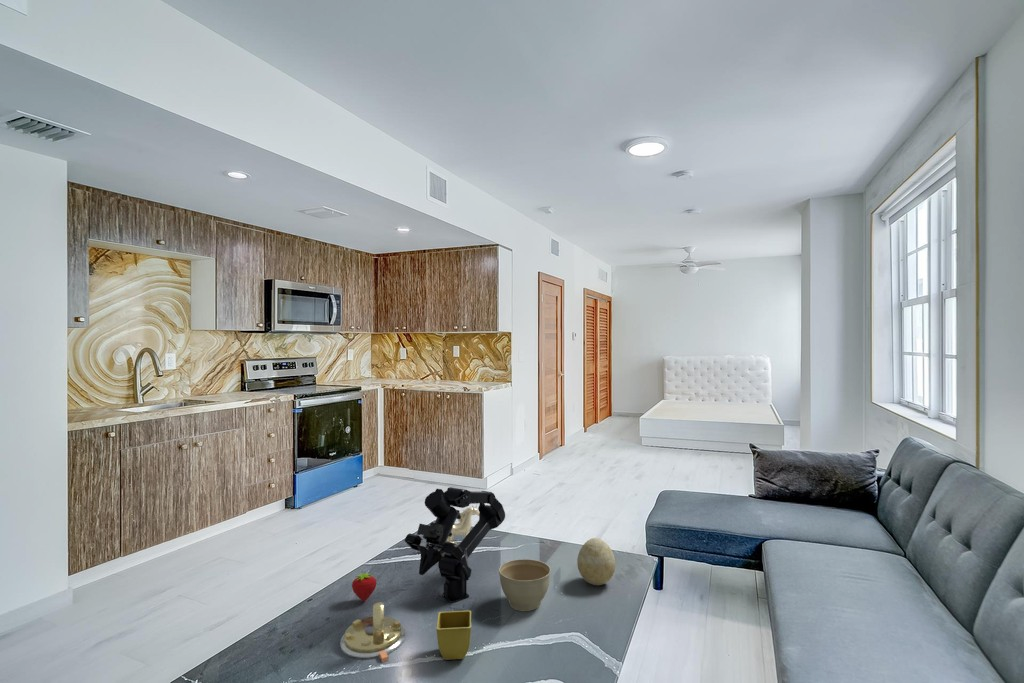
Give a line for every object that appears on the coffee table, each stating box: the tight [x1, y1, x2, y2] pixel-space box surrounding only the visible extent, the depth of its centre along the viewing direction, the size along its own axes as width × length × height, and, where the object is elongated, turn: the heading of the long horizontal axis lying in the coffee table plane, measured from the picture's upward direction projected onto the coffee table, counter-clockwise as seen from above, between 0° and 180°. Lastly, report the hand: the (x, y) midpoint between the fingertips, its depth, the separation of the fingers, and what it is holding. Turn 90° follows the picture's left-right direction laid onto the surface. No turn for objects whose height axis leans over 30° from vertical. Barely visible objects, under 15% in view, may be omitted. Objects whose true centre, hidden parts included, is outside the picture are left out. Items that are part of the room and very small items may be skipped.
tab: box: [378, 651, 389, 663], centre depth 129 cm, size 3×2×1 cm, turn 31°
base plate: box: [339, 623, 406, 660], centre depth 138 cm, size 17×17×4 cm
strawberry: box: [351, 571, 378, 602], centre depth 159 cm, size 6×8×10 cm
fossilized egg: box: [576, 537, 616, 586], centre depth 171 cm, size 13×13×15 cm
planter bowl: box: [498, 558, 552, 612], centre depth 157 cm, size 16×16×11 cm
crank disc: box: [343, 601, 402, 653], centre depth 138 cm, size 15×15×11 cm
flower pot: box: [436, 610, 472, 661], centre depth 131 cm, size 9×9×9 cm
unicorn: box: [446, 504, 480, 545], centre depth 202 cm, size 20×4×17 cm, turn 111°
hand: (420, 574), depth 147 cm, fingers closed
